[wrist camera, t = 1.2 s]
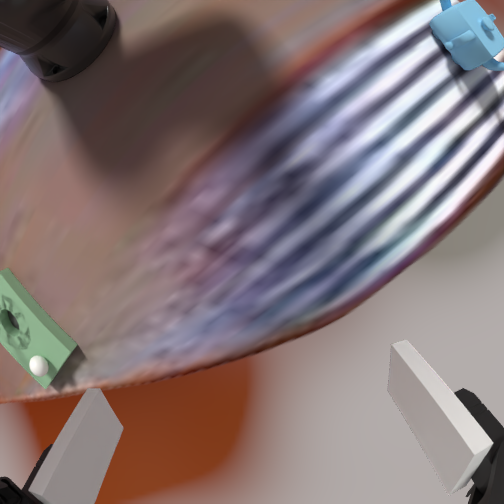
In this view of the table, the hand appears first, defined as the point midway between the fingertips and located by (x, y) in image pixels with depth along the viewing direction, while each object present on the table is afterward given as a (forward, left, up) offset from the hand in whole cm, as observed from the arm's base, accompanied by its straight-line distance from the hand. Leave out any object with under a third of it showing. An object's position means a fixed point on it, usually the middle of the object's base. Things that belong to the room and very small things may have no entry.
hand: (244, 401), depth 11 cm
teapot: (0, +49, -27) cm, 56 cm away
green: (-19, -37, -26) cm, 49 cm away
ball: (-11, -37, -22) cm, 44 cm away
